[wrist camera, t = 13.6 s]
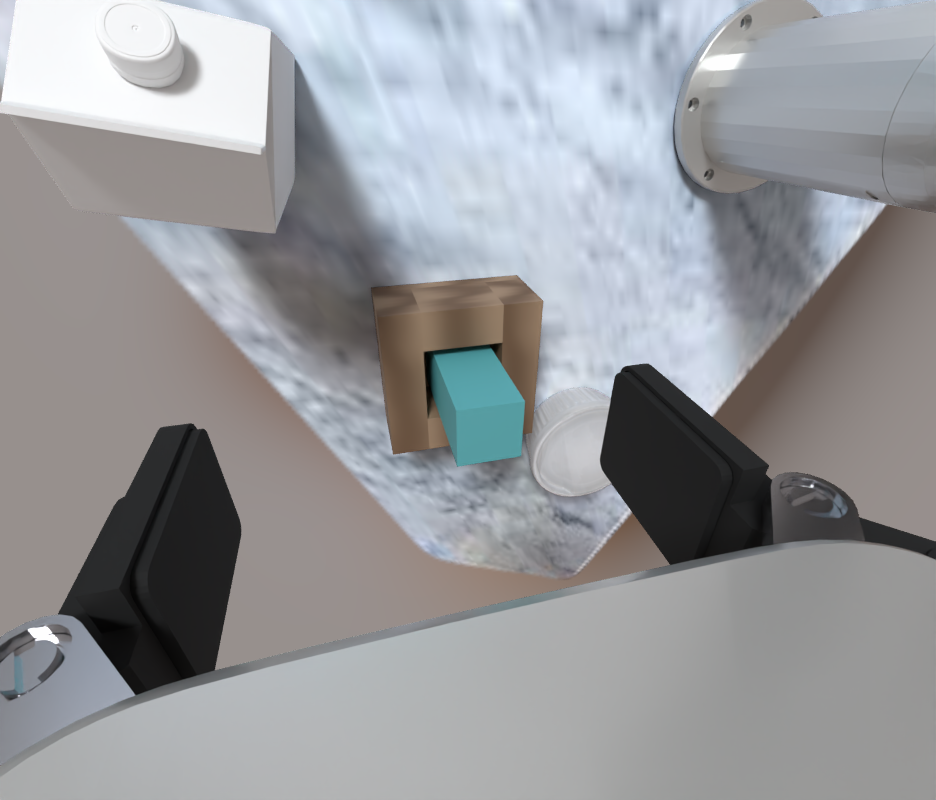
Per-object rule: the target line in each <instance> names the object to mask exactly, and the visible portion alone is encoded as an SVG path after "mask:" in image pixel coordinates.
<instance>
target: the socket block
mask: <svg viewBox="0 0 936 800" xmlns="http://www.w3.org/2000/svg"><path fill="white" fill-rule="evenodd" d="M371 292H372V300H373V309H374V317H375V326H376V334H377V342H378V351H379V359H380V368H381V376H382V385H383V393H384V402H385V410H386V417H387V423H388V428H389V434H390V439H391V445H392V450H393V454H400V453H406V452H413V451H419V450H426V449H432V448H438V447H445V446H450V444H449V441H448V438H447V435H446V432H445V429H444V426H443V424H442V421H441V418H440V415H439V412H438V409H437V406H436V403H435V400H434V397H433V394H432V392H431V389H430V386H429V383H428V380H427V367H426V351H434V350H443V349H451V348H460V347H469V346H478V345H486V344H489V346H490V347H491V349H492V350H493V352H494V353H495V355H496V357H497V358H498V360H499V361H500V363H501V364H502V366H503V368H504V369H505V371H506V372H507V374H508V375H509V377H510V379H511V380H512V382H513V383H514V385H515V386H516V388H517V390H518V391H519V393H520V394H521V396H522V397H523V399H524V401H525V409H524V422H523V434H529V433H532V428H533V416H534V404H535V392H536V381H537V369H538V357H539V345H540V333H541V321H542V309H543V300H542V299H541V298H540V297H539V296H538V295H537V294H536V293H534V292H533V291H532V290H531V289H530V288H529V287H528V286H527V285H526V284H525V283H524V282H523V281H522V280H521V279H520V278H519V277H518V276H517V275H514V276H502V277H491V278H479V279H468V280H456V281H444V282H433V283H421V284H409V285H398V286H386V287H374V288H371Z"/></svg>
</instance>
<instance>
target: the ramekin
mask: <svg viewBox="0 0 936 800" xmlns="http://www.w3.org/2000/svg"><path fill="white" fill-rule="evenodd" d="M610 401H611V399H610V398H609V397H608V396H606V395H605V394H603V393H602V392H599V391H598V390H594V389H592V388H587V387H578V388H571V389H566V390H563V391H560V392H558V393H556V394H554V395H552V396H550V397H549V398H548V399H546V400H545V401H544V402H543V403H542V404H541V405H540V406H539V407H538V408H537V409H536V410H535V412H534V416H533V428H532V433H529V434H526V443H527V448H528V452H529V456H530V466H531V470H532V473H533V475H534V477H535V479H536V481H537V482H538V483H539V485H540V486H541V487H543V488H544V489H545V490H547V491H549V492H551V493H553V494H556V495H559V496H567V497H574V496H582V495H587V494H590V493H593V492H596V491H598V490H600V489H603V488H605V487H606V486H608V485H610V484H611V482H610V481H609V479H608V478H607V477H606V475H605V474H604V472H603V471H602V468H601V465H600V455H601V449H602V444H603V439H604V433H605V428H606V423H607V417H608V412H609V406H610Z"/></svg>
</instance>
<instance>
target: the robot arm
mask: <svg viewBox="0 0 936 800" xmlns="http://www.w3.org/2000/svg"><path fill="white" fill-rule="evenodd" d="M674 132H675V145H676V149H677V153H678V157H679V160H680V162H681V164H682V166H683V168H684V170H685V172H686V173H687V174H688V175H689V176H690V178H691V179H692V180H693V181H694V182H696V183H697V184H699V185H700V186H701V187H703V188H706V189H709V190H712V191H715V192H720V193H726V194H729V193H740V192H744V191H748V190H751V189H754V188H756V187H758V186H760V185H762V184H764V183H766V182H767V181H768V180H770V181H775V182H780V183H785V184H790V185H795V186H800V187H805V188H810V189H815V190H820V191H825V192H830V193H835V194H840V195H845V196H850V197H855V198H860V199H865V200H870V201H875V202H880V203H885V204H890V205H896V206H900V207H905V208H911V209H917V210H921V211H926V212H932V213H936V0H932V1H925V2H918V3H912V4H905V5H899V6H892V7H885V8H879V9H872V10H866V11H859V12H852V13H846V14H839V15H833V16H826V17H823V15H822V14H821V13H820V12H819V11H818V10H817V9H816V8H815V6H814V5H813V4H811V3H809V2H807V1H806V0H756V1H754V2H752V3H750V4H747V5H745V6H743V7H741V8H739V9H738V10H737V11H735V12H734V13H733V14H731V15H730V16H729V17H727V18H726V19H725V20H724V21H723V22H722V23H721V24H720V25H719V26H718V27H717V28H716V29H715V30H714V31H713V32H712V33H711V34H710V35H709V37H708V38H707V39H706V41H705V42H704V44H703V45H702V46H701V48H700V49H699V51H698V52H697V54H696V56H695V58H694V59H693V61H692V63H691V65H690V67H689V69H688V71H687V73H686V76H685V79H684V81H683V84H682V87H681V89H680V93H679V97H678V102H677V106H676V112H675V124H674ZM600 465H601V468H602V471H603V472H604V474H605V475H606V477H607V478H608V479H609V481H610V482H611V483H612V485H613V486H614V488H615V489H616V490H617V492H618V493H619V495H620V496H621V497H622V499H623V500H624V501H625V503H626V504H627V506H628V507H629V508H630V510H631V511H632V512H633V514H634V515H635V517H636V518H637V519H638V521H639V522H640V524H641V525H642V526H643V528H644V529H645V530H646V532H647V533H648V535H649V536H650V537H651V539H652V540H653V541H654V543H655V544H656V546H657V547H658V548H659V550H660V551H661V552H662V554H663V555H664V557H665V558H666V559H667V561H668V562H669V564H670V565H668V566H664V567H659V568H655V569H650V570H646V571H641V572H637V573H632V574H628V575H623V576H619V577H614V578H609V579H605V580H600V581H596V582H592V583H587V584H582V585H578V586H573V587H569V588H564V589H560V590H556V591H551V592H547V593H542V594H538V595H533V596H529V597H524V598H520V599H516V600H511V601H507V602H503V603H498V604H494V605H490V606H485V607H481V608H476V609H472V610H467V611H463V612H459V613H455V614H450V615H445V616H441V617H437V618H432V619H428V620H424V621H419V622H415V623H411V624H407V625H403V626H398V627H394V628H389V629H385V630H381V631H376V632H372V633H368V634H363V635H359V636H355V637H350V638H346V639H342V640H337V641H333V642H329V643H324V644H320V645H316V646H312V647H307V648H303V649H299V650H296V651H292V652H288V653H283V654H279V655H275V656H271V657H267V658H263V659H260V660H255V661H251V662H247V663H243V664H239V665H235V666H231V667H227V668H223V669H219V670H215V665H216V661H217V655H218V650H219V645H220V640H221V635H222V630H223V625H224V620H225V615H226V610H227V604H228V599H229V594H230V589H231V584H232V579H233V574H234V569H235V563H236V559H237V553H238V548H239V543H240V538H241V524H240V519H239V517H238V514H237V511H236V509H235V506H234V503H233V500H232V498H231V495H230V493H229V490H228V487H227V485H226V482H225V479H224V476H223V474H222V471H221V468H220V466H219V463H218V460H217V458H216V455H215V452H214V450H213V447H212V444H211V441H210V439H209V436H208V434H207V432H206V430H205V429H198V430H197V428H196V427H195V426H194V424H183V425H175V426H168V427H162V428H160V429H159V430H158V432H157V434H156V436H155V438H154V440H153V442H152V444H151V446H150V448H149V450H148V452H147V454H146V456H145V458H144V460H143V462H142V464H141V466H140V468H139V470H138V472H137V474H136V476H135V478H134V480H133V482H132V483H131V486H130V488H129V489H128V491H127V493H126V495H125V497H123V498H121V499H119V500H118V501H117V503H116V504H115V505H114V507H113V509H112V511H111V513H110V515H109V517H108V518H107V520H106V522H105V524H104V526H103V528H102V530H101V532H100V534H99V536H98V538H97V540H96V542H95V544H94V546H93V547H92V549H91V551H90V553H89V555H88V557H87V559H86V561H85V563H84V565H83V567H82V569H81V571H80V573H79V574H78V577H77V579H76V580H75V582H74V584H73V586H72V588H71V590H70V592H69V594H68V596H67V598H66V600H65V602H64V603H63V605H62V607H61V609H60V611H59V613H58V615H52V616H45V617H41V618H38V619H35V620H32V621H29V622H26V623H24V624H22V625H20V626H18V627H16V628H15V629H13V630H11V631H9V632H7V633H5V634H4V635H3V636H1V637H0V800H936V542H935V541H932V540H929V539H926V538H923V537H919V536H916V535H913V534H910V533H907V532H904V531H900V530H897V529H894V528H891V527H888V526H885V525H882V524H878V523H875V522H872V521H869V520H866V519H862V518H860V517H859V514H858V510H857V508H856V506H855V504H854V502H853V500H852V499H851V498H850V497H849V496H848V495H847V494H846V493H845V492H844V491H842V490H841V489H840V488H838V487H837V486H835V485H834V484H832V483H830V482H827V481H826V480H824V479H821V478H818V477H815V476H812V475H808V474H803V473H798V472H789V473H783V474H779V475H777V476H776V477H775V478H773V479H772V480H771V479H770V478H769V477H768V476H767V475H766V471H767V469H768V467H769V465H768V464H767V463H765V462H764V461H763V460H762V459H761V458H759V456H757V455H756V454H755V453H754V452H752V451H751V450H750V449H749V448H748V447H747V446H745V445H744V444H743V443H742V442H741V441H740V440H738V439H737V438H736V437H735V436H734V435H732V434H731V433H730V432H729V431H728V430H727V429H726V428H724V427H723V426H722V425H721V424H720V423H718V422H717V421H716V420H715V419H714V418H713V417H711V416H710V415H709V414H708V413H707V412H705V411H704V410H703V409H702V408H701V407H700V406H698V405H697V404H696V403H695V402H694V401H692V400H691V399H690V398H689V397H688V396H687V395H685V394H684V393H683V392H682V391H681V390H679V389H678V388H677V387H676V386H675V385H674V384H672V383H671V382H670V381H669V380H668V379H667V378H665V377H664V376H663V375H662V374H661V373H659V372H658V371H657V370H656V369H655V368H654V367H652V366H651V365H649V364H639V365H631V366H625V367H624V368H623V369H622V370H621V373H618V374H617V375H616V376H615V380H614V385H613V390H612V396H611V401H610V406H609V412H608V417H607V423H606V428H605V433H604V439H603V444H602V449H601V455H600Z"/></svg>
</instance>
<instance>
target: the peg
mask: <svg viewBox="0 0 936 800" xmlns="http://www.w3.org/2000/svg"><path fill="white" fill-rule="evenodd" d="M426 367H427V380H428V383H429V386H430V389H431V392H432V394H433V397H434V400H435V403H436V406H437V409H438V412H439V415H440V418H441V421H442V424H443V426H444V429H445V432H446V435H447V438H448V441H449V444H450V447H451V450H452V453H453V455H454V458H455V461H456V464H457V467H458V466H464V465H470V464H476V463H482V462H488V461H495V460H501V459H507V458H513V457H519V456H521V450H522V436H523V422H524V409H525V401H524V399H523V397H522V396H521V394H520V393H519V391H518V390H517V388H516V386H515V385H514V383H513V382H512V380H511V379H510V377H509V375H508V374H507V372H506V371H505V369H504V368H503V366H502V364H501V363H500V361H499V360H498V358H497V357H496V355H495V353H494V352H493V350H492V349H491V347H490V346H489V344H486V345H478V346H469V347H460V348H451V349H443V350H434V351H426Z"/></svg>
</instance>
